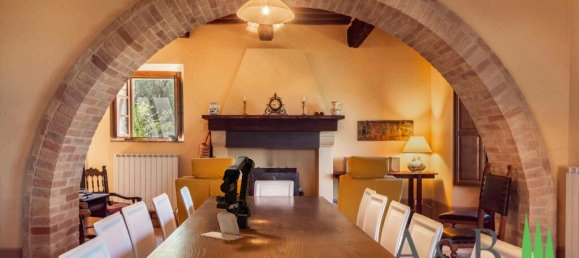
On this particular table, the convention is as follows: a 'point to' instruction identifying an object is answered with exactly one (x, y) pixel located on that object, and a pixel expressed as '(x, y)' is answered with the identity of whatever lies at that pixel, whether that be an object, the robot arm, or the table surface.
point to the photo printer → (228, 223)
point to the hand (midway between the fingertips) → (231, 220)
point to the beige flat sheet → (221, 236)
